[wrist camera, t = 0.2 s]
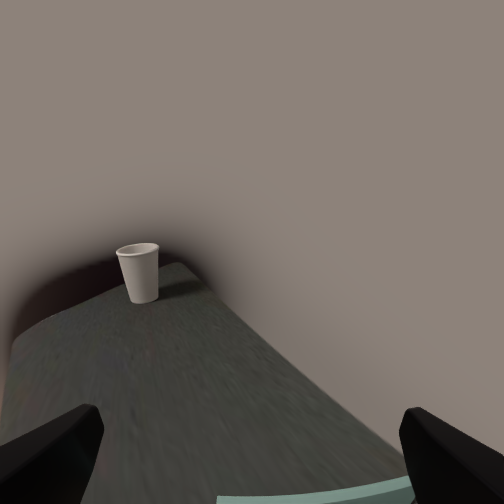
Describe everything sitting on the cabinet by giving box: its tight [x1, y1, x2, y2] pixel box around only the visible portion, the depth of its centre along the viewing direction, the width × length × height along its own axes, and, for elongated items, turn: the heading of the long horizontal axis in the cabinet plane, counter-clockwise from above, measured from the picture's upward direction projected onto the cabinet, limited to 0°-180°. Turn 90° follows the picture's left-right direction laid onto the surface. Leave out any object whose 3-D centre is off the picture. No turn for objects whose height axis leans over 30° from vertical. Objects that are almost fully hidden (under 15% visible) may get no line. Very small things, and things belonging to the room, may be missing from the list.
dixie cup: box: [116, 243, 159, 304], centre depth 59 cm, size 8×8×10 cm
